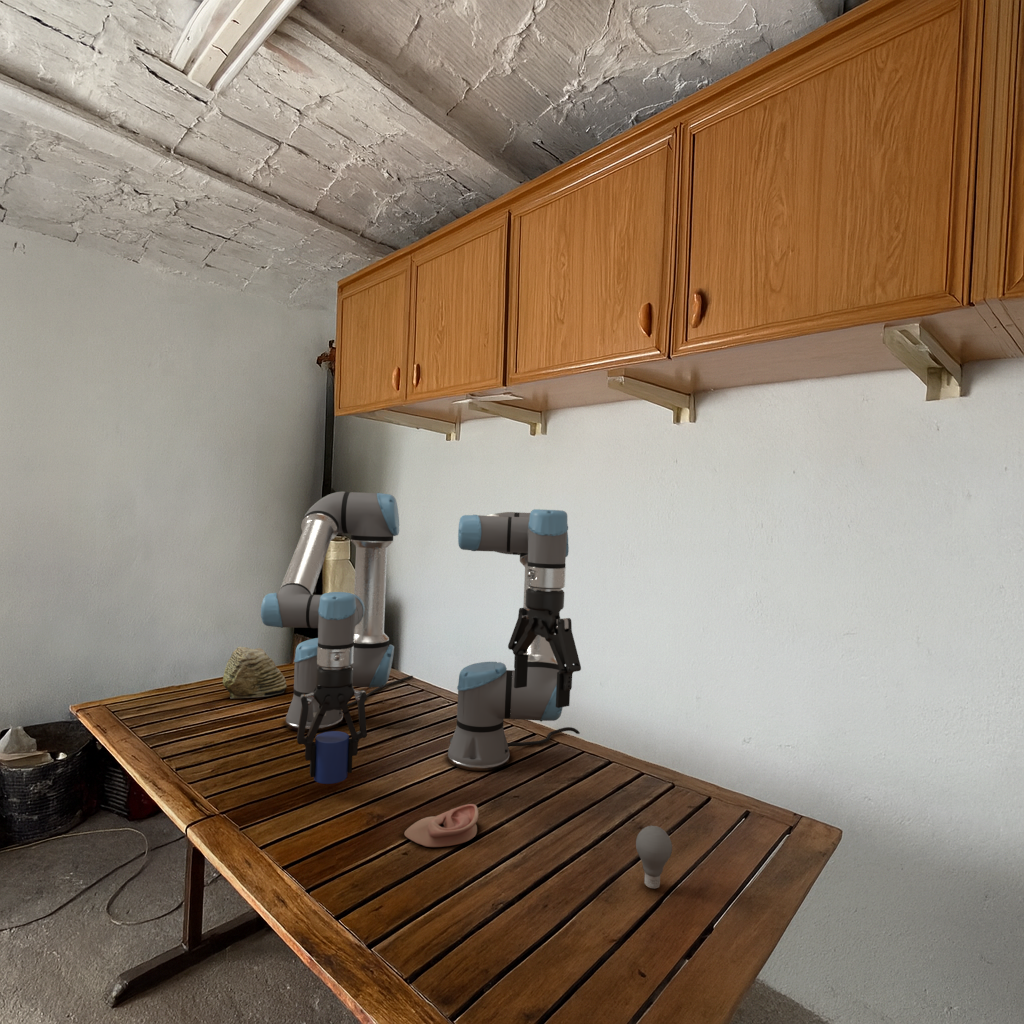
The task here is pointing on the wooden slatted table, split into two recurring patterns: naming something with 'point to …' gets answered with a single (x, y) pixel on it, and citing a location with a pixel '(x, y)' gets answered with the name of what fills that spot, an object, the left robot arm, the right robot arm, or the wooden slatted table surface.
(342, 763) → the canister
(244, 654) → the fossil
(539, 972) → the wooden slatted table surface
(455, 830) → the anatomical model
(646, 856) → the light bulb
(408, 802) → the wooden slatted table surface
